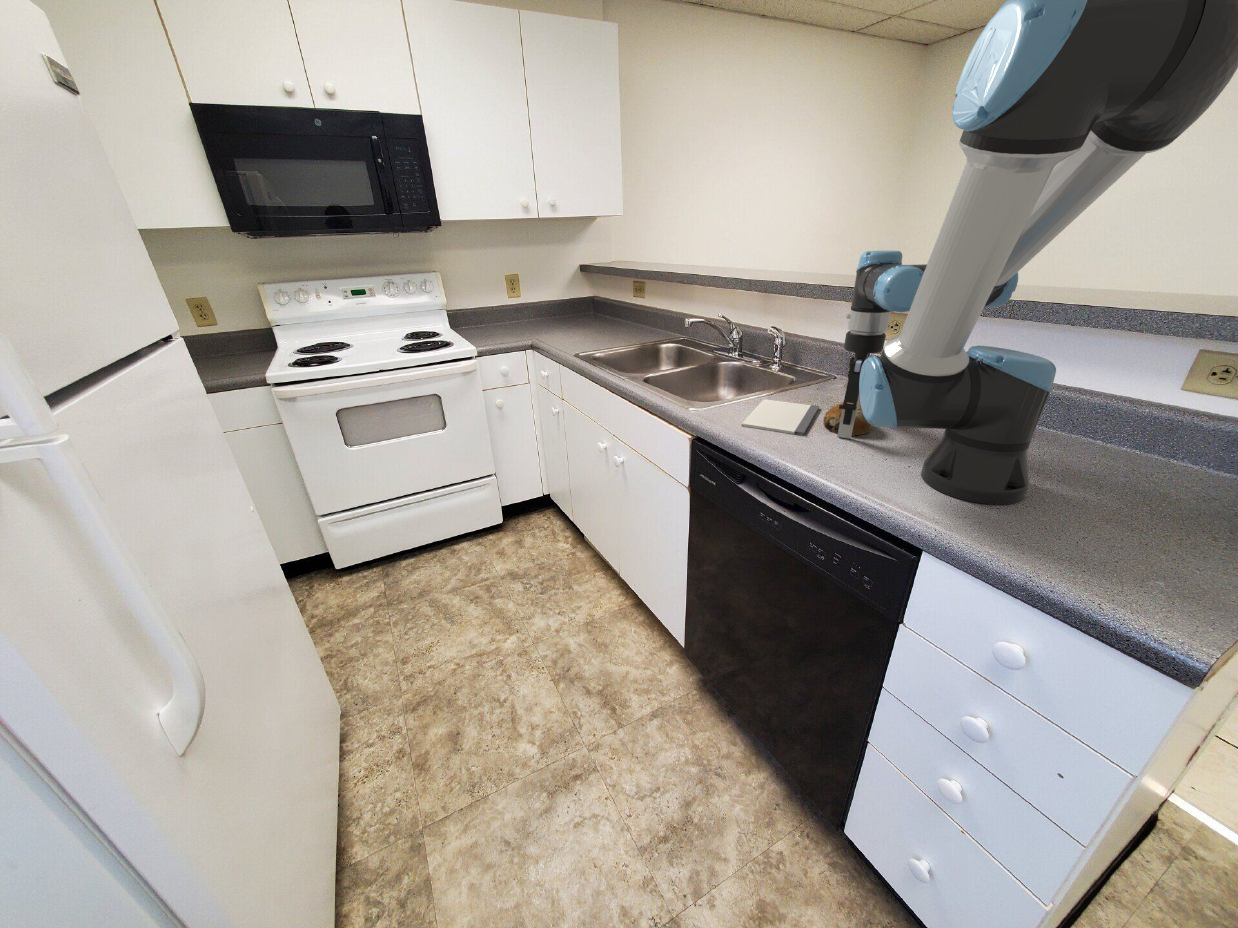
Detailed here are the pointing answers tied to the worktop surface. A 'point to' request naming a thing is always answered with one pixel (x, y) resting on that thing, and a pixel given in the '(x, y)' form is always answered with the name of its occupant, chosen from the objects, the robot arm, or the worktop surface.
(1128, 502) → the worktop surface
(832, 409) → the bread roll
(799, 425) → the mat
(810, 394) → the worktop surface
